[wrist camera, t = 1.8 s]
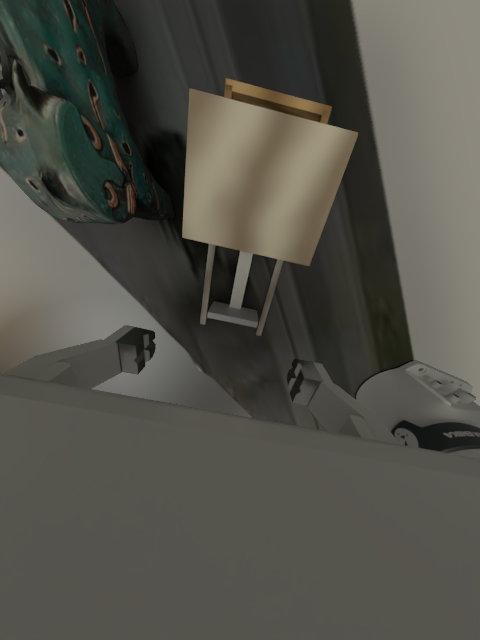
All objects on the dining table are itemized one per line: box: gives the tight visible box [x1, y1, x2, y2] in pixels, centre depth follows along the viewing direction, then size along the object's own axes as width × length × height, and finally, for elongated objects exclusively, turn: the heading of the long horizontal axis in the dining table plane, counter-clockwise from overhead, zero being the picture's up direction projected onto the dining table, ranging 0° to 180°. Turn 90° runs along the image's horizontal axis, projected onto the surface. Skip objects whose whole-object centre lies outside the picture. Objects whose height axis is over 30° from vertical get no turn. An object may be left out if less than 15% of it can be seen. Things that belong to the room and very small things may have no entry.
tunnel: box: [182, 78, 358, 336], centre depth 22 cm, size 13×31×11 cm, turn 168°
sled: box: [207, 251, 258, 328], centre depth 25 cm, size 8×20×5 cm, turn 168°
